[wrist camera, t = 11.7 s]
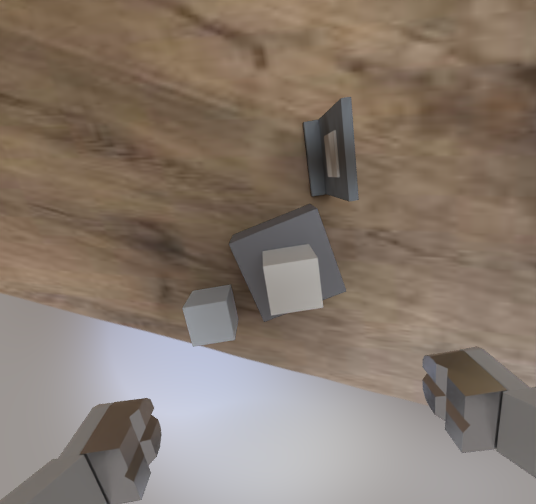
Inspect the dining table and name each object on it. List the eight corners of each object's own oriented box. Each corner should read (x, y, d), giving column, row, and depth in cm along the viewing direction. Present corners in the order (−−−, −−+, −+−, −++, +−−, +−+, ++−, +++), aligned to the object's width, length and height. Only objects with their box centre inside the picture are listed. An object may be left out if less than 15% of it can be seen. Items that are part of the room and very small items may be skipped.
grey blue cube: (192, 290, 37) (182, 308, 32) (230, 284, 37) (226, 300, 32) (201, 324, 38) (192, 346, 33) (238, 318, 38) (235, 339, 33)
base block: (233, 234, 35) (228, 243, 30) (309, 203, 34) (317, 208, 29) (263, 302, 38) (264, 321, 33) (335, 275, 37) (346, 291, 32)
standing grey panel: (302, 123, 32) (320, 101, 22) (338, 117, 31) (371, 93, 22) (311, 195, 34) (330, 204, 24) (344, 190, 34) (377, 196, 24)
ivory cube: (262, 251, 30) (262, 266, 26) (308, 243, 30) (317, 257, 26) (269, 293, 32) (271, 315, 27) (313, 286, 32) (323, 307, 27)
